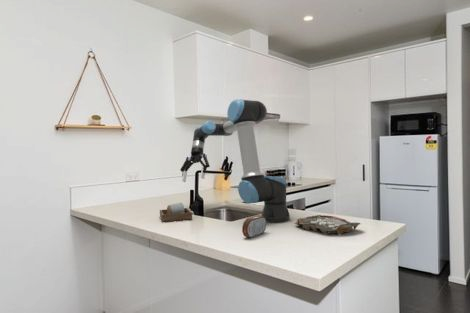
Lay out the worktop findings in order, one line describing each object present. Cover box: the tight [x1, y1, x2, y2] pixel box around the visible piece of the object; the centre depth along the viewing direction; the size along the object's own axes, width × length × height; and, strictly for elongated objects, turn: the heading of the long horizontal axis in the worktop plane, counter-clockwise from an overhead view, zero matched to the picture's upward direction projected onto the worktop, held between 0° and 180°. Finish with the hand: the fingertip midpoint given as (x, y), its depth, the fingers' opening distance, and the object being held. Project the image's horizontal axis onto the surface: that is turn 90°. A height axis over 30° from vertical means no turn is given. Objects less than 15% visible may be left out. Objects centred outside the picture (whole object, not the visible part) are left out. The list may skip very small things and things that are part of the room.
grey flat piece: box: [294, 214, 362, 235], centre depth 155 cm, size 30×22×5 cm
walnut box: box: [159, 207, 193, 223], centre depth 184 cm, size 16×16×4 cm
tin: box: [241, 214, 267, 239], centre depth 145 cm, size 15×3×8 cm, turn 141°
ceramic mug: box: [166, 202, 185, 214], centre depth 182 cm, size 11×8×8 cm
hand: (192, 179), depth 199 cm, fingers open, 13 cm apart
